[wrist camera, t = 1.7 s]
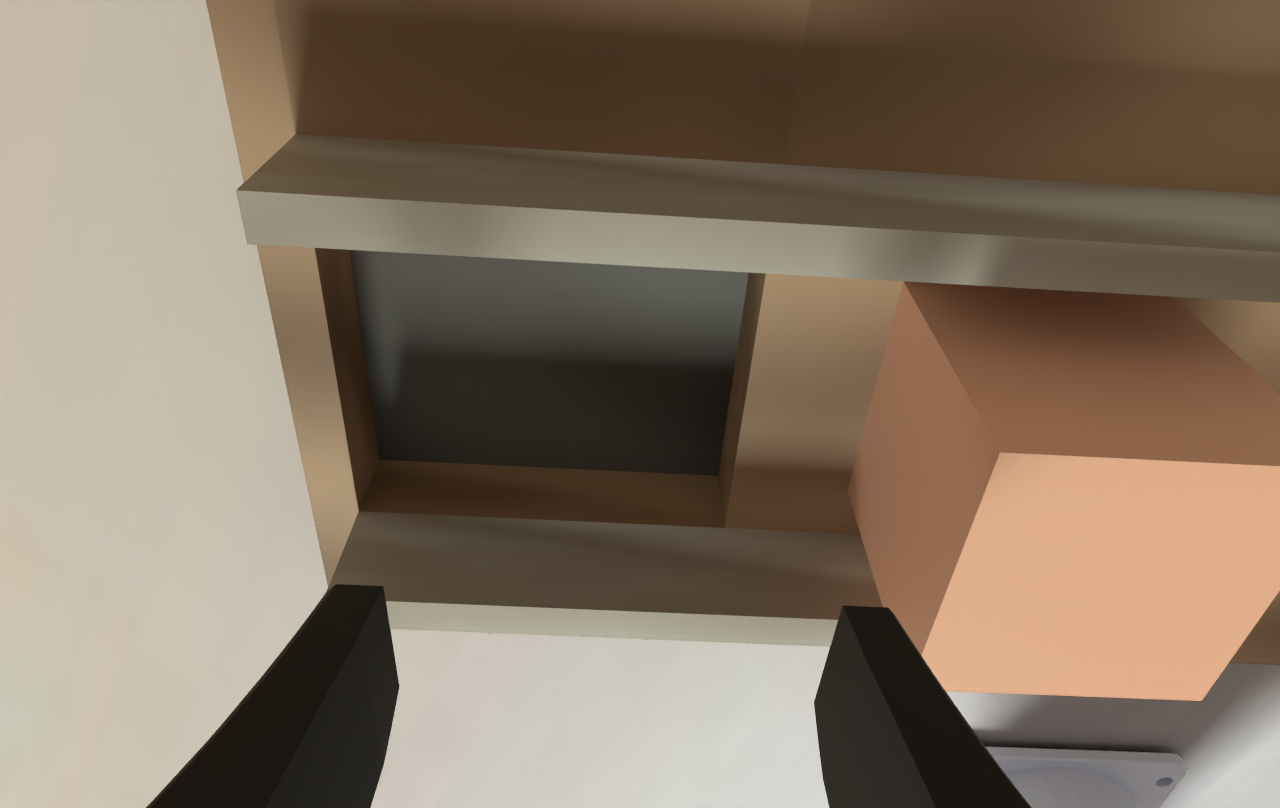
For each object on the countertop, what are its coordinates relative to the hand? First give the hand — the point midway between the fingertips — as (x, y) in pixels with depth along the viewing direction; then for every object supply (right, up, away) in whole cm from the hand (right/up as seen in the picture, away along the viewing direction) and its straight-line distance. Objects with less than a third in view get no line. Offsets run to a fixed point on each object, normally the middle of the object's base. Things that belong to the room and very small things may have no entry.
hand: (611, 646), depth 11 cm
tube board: (+9, +4, +7) cm, 12 cm away
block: (+8, +3, +6) cm, 10 cm away
